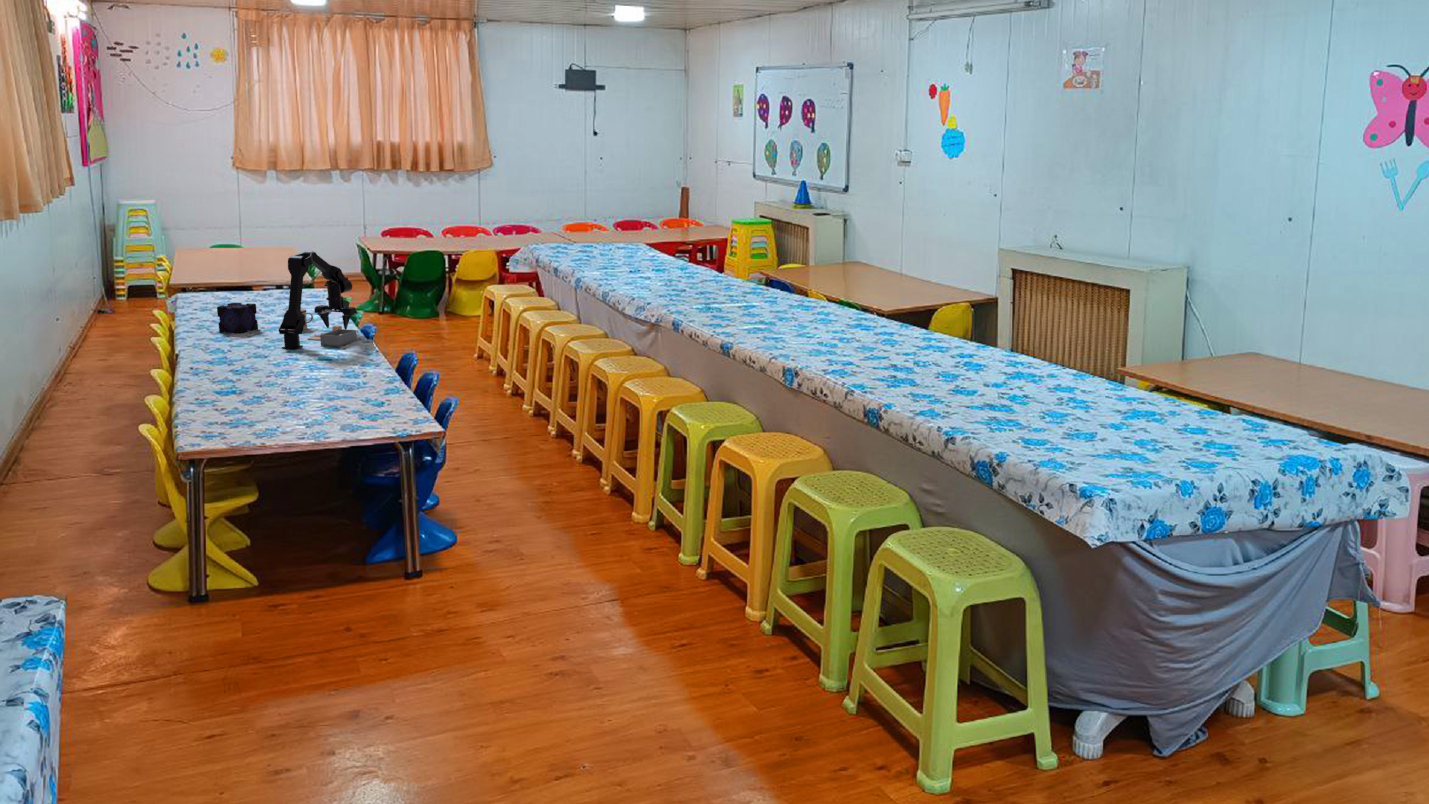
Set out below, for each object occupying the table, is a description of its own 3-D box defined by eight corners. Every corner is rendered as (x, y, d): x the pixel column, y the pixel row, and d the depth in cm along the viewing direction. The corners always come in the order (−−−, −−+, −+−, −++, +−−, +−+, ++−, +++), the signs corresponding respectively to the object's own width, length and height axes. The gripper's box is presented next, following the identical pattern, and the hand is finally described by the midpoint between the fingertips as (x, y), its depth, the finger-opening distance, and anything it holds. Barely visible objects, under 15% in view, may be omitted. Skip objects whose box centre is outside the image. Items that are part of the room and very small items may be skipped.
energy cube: (219, 332, 529) (216, 306, 526) (235, 327, 541) (233, 302, 538) (242, 333, 527) (239, 308, 524) (258, 329, 538) (255, 303, 535)
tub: (339, 347, 501) (338, 336, 499) (321, 346, 503) (320, 334, 502) (356, 341, 514) (356, 330, 512) (339, 339, 516) (338, 328, 515)
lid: (327, 341, 513) (326, 333, 512) (307, 340, 516) (307, 332, 515) (348, 333, 529) (348, 326, 528) (330, 332, 532) (329, 324, 531)
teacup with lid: (289, 331, 533) (287, 306, 530) (285, 328, 540) (283, 303, 537) (316, 329, 539) (314, 304, 536) (311, 325, 547) (309, 301, 544)
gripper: (362, 293, 529) (364, 326, 533) (326, 291, 534) (329, 324, 538) (348, 297, 519) (351, 331, 523) (312, 294, 524) (315, 328, 528)
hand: (336, 328), depth 528 cm, fingers open, 9 cm apart
